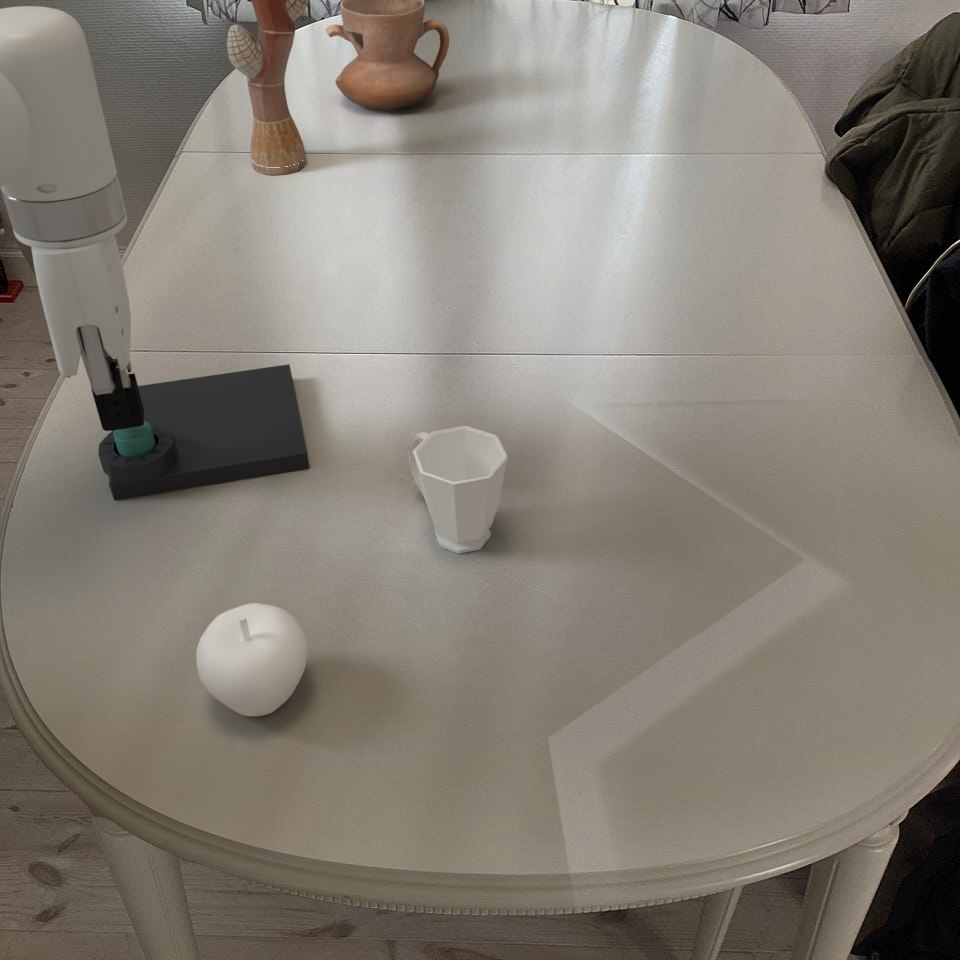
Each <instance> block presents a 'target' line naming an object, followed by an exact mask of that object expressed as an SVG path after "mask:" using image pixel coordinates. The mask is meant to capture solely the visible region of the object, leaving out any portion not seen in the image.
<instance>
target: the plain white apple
mask: <svg viewBox="0 0 960 960" xmlns="http://www.w3.org/2000/svg"><path fill="white" fill-rule="evenodd" d="M195 655H196V657H195V658H196V662H195V663H196V669H197V673H198V677H199V679H200V681H201V683H202V684H203V686H204V688H205V689H206V691H208V692H209V693H210V695H211V696H213V697H214V698H215V699H217V700H218V701H219V702H221V703H222V704H223V705H225V706H226V707H228V708H229V709H230V710H232V711H234V712H235V713H237V714H239V715H241V716H244V717H263V716H267V715H269V714H272V713H273V712H275V711H277V710H278V709H279V708H280V707H281V706H282V705H284V704H285V703H286V702H287V701H288V700H289V699H290V697H291V696H292V695H293V694H294V692H295V690H296V688H297V686H298V685H299V683H300V681H301V679H302V677H303V674H304V671H305V669H306V666H307V661H308V642H307V639H306V636H305V633H304V631H303V630H302V628H301V626H300V624H299V623H298V621H297V620H296V618H294V617H293V615H292V614H291V613H289V612H288V611H287V610H285V609H283V608H281V607H278V606H276V605H269V604H265V603H259V602H258V603H256V602H251V603H246V604H242V605H240V606H236V607H235V608H231V609H228V610H226V611H224V612H222V613H220V614H218V615H217V616H216V617H215V618H214V619H213V620H212V621H211V622H210V623H209V625H208V626H207V627H206V628H205V630H204V632H203V633H202V635H201V636H200V639H199V640H198V643H197V646H196V653H195Z"/></svg>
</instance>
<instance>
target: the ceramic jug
mask: <svg viewBox="0 0 960 960" xmlns="http://www.w3.org/2000/svg"><path fill="white" fill-rule="evenodd" d="M339 6H340V7H339V8H340V9H339V10H340V15H341V19H342V21H343V22H342V25H341V24H338V23H337V24H330V25H329V26H327V27H326V28H325V32H326V34H327V36H328V37H329V38H333V37H340V38H341V39H344V40H346V41H348V42H349V43H351V44H352V46H353V47H354V48H353V49H355V51H356V53H357V56H356V57H355V58H354V59H352V60H351V61H350V62H348V64H346V65H345V67H344V68H343V69H342V70H341V72H340V74H339V75H338V76H337V77H336V79H335V82H334V83H335V85H336V88H337V89H338V90H339V91H340V93H341V94H342V95H343V96H344V97H345V98H346V99H347V100H349V101H350V102H352V103H354V104H355V105H359V106H361V107H364V108H367V109H373V110H396V109H402V108H407V107H410V106H413V105H415V104H418V103H420V102H422V101H423V100H425V99H426V98H428V97H430V95H431V94H432V93H433V92H434V90H435V88H436V84H437V81H438V79H439V75H440V69H441V66H442V65H443V63H444V61H445V58H446V57H447V54H448V51H449V47H450V46H449V45H450V34H449V30H448V27H447V26H446V25H445V24H444V23H443V22H442V21H440V20H437V19H429V20H426V21H424V19H425V12H426V11H425V10H426V0H341V1H340V4H339ZM430 31H437V33H438V35H439V48H438V51H437V55H436V57H435V60H434V62H433V65H432V66H431V65H430V64H429V63H428V62H427V61H425V60H423V59H422V58H421V57H419V56H418V55H417V54H416V53H415V49H416V46H417V43H418V41H419V40H420V39H421V38H422V37H423V36H424V35H425V34H426V33H428V32H430Z"/></svg>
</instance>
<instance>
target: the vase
mask: <svg viewBox="0 0 960 960" xmlns="http://www.w3.org/2000/svg"><path fill="white" fill-rule="evenodd" d="M250 1H251V5H252V8H253V12H254V15H255V18H256V22H257V26H258V29H257V36H256V37H255V36H254V35H253V34H252V33H250V32H249V31H248V30H247V29H246V28H245V27H243V26H242V25H240V24H237V23H236V24H233V25H231V26H230V27H229V29H228V32H227V38H226V49H227V56H228V59H229V61H230V63H231V65H232V66H233V67H234V68H235V69H236V70H237V71H238V72H239V73H241V74H242V75H244V76H245V77H246V81H247V89H248V93H249V98H250V102H251V107H252V115H253V126H252V127H253V128H252V134H251V140H250V162H251V167H252V168H253V169H254V170H255V171H256V172H257V173H259V174H262V175H263V174H264V175H268V176H280V175H281V176H282V175H288V174H289V175H290V174H293V173H296V172H301V170H302V169H303V168H305V167H306V166H307V164H308V163H307V153H306V149H305V144H304V142H303V139H302V137H301V134H300V131H299V129H298V127H297V125H296V123H295V121H294V119H293V117H292V115H291V113H290V109H289V106H288V105H289V104H288V100H287V94H286V86H285V85H286V83H285V79H286V72H287V67H288V63H289V59H290V55H291V51H292V48H293V45H294V40H295V34H296V25H295V21H296V20H297V19H298V18H299V17H300V16H301V15H303V14H304V13H305V11H306V9H307V8H308V6H309V0H250ZM251 159H252V160H253V161H254V162H255V163H256V164H257V165H262V166H265V167H261V166H257V165H256V164H255V163H253V162H252V161H251ZM302 160H303V161H302ZM298 163H299V164H298ZM293 164H295V165H293ZM290 165H291V166H290ZM285 166H288V167H285ZM266 167H280V168H266Z"/></svg>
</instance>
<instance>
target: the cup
mask: <svg viewBox="0 0 960 960" xmlns="http://www.w3.org/2000/svg"><path fill="white" fill-rule="evenodd" d="M508 458H509V457H508V454H507V452H506V450H505V448H504V446H503V443H502V442H501V439H500V438H499V436H498V435H497V434H494V433H490V432H488V431H485V430H483V429H482V430H481V429H478V428H475V427H472V426H469V425H460V426H456V427H449V428H444V429H439V430H433V431H431V432H430V433H428V432H426V431H421V432H418V433H416V434H414V435H413V436H412V437H411V438H410V439H409V442H408V449H407V460H408V465H409V469H410V472H411V475H412V477H413V479H414V481H415V483H416V486H417V487H418V489H419V491H420V493H421V494H422V496H423V497H424V501H425V504H426V507H427V510H428V512H429V514H430V517H431V521H432V522H433V525H434V535H435V537H436V540H437V542H438V545H439V547H440V548H442V549H446V550H448V551H450V552H453V553H455V554H458V555H461V554H465V553H469V552H475V551H480V550H481V549H482V548H483V547H484V545H485V544H486V543H487V542H488V541H489V539H490V538H491V537H492V536H491V535H492V533H491V531H490V528H491V527H492V526H493V522H494V520H495V517H496V514H497V511H498V509H499V505H500V499H501V493H502V488H503V485H504V484H503V483H504V479H505V474H506V469H507V464H508Z"/></svg>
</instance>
